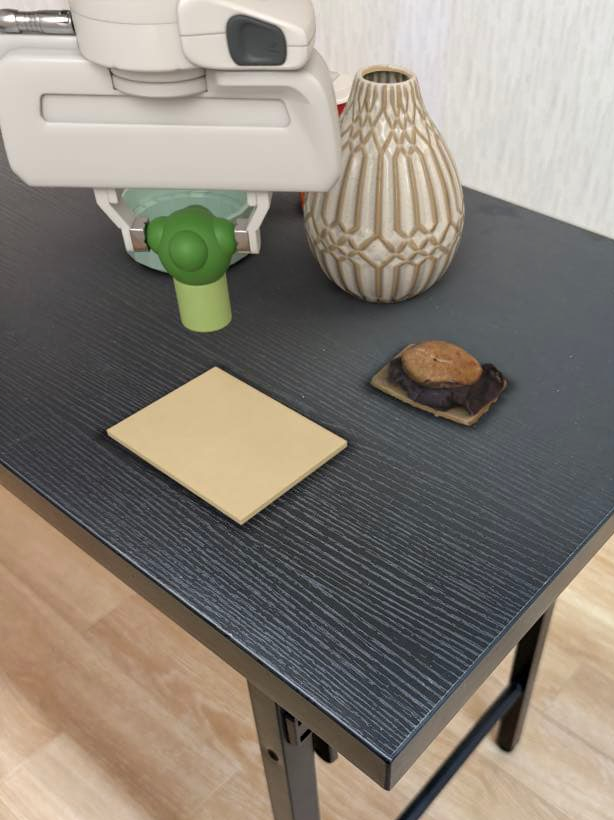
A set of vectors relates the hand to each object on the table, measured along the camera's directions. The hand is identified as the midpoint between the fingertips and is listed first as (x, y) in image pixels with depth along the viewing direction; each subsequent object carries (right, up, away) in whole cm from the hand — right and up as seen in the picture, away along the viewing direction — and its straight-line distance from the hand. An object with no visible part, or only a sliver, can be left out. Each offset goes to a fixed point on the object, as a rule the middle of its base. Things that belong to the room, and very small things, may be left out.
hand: (195, 249), depth 55 cm
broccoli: (0, -4, +4) cm, 5 cm away
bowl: (-9, +13, +35) cm, 38 cm away
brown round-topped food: (+17, -6, +19) cm, 26 cm away
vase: (+12, +7, +31) cm, 34 cm away
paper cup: (+5, +20, +42) cm, 47 cm away
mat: (-1, -11, +12) cm, 17 cm away
